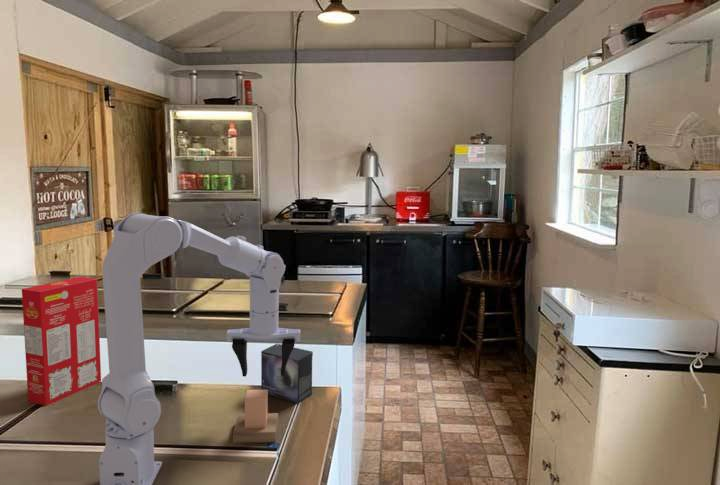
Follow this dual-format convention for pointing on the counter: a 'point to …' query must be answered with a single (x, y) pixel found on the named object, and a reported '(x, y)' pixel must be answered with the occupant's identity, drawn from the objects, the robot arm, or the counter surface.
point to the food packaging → (61, 338)
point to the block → (256, 408)
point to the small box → (287, 374)
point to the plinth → (255, 430)
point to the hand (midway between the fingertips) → (263, 374)
